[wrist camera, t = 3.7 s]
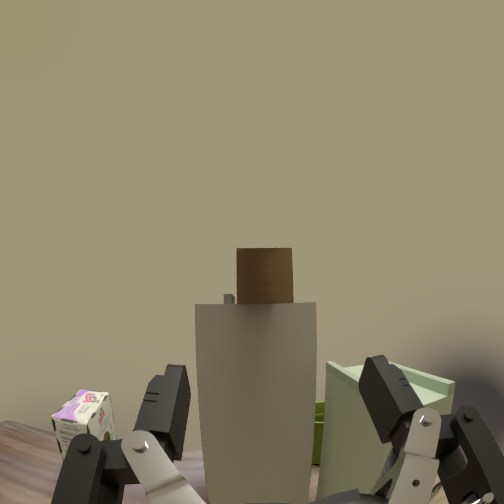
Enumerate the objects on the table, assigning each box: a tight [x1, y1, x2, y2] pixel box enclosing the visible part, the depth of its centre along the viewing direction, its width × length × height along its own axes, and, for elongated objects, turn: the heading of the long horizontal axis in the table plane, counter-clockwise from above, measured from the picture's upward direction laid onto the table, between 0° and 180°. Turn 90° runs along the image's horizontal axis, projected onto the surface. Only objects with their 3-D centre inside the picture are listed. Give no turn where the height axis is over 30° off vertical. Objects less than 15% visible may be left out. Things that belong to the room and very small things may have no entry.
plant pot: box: [312, 401, 325, 465], centre depth 42 cm, size 12×12×11 cm
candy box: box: [51, 389, 117, 462], centre depth 28 cm, size 14×6×16 cm, turn 15°
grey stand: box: [195, 294, 317, 504], centre depth 30 cm, size 12×12×33 cm
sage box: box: [316, 356, 455, 501], centre depth 19 cm, size 6×15×25 cm, turn 2°
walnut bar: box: [237, 248, 293, 304], centre depth 30 cm, size 4×26×4 cm, turn 3°
